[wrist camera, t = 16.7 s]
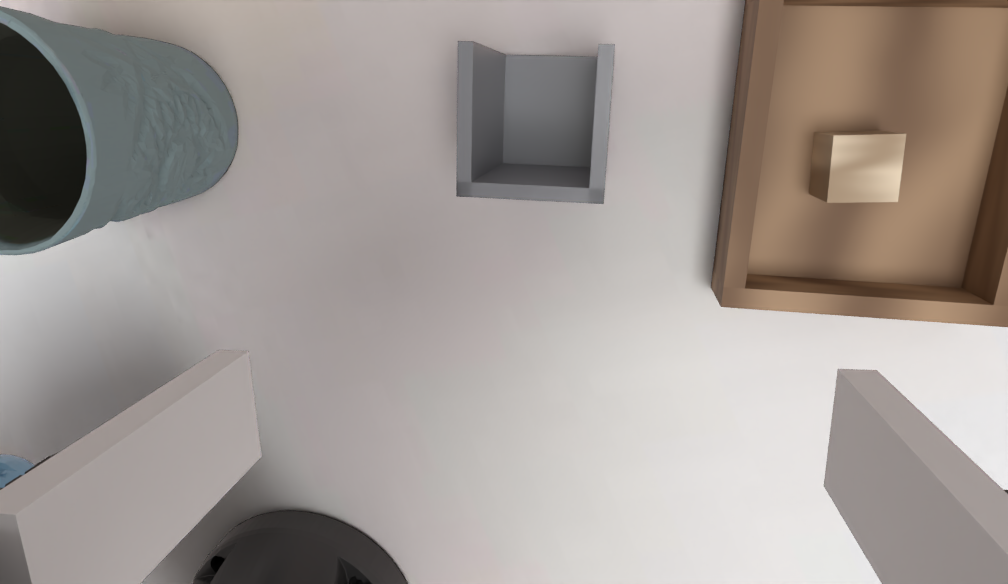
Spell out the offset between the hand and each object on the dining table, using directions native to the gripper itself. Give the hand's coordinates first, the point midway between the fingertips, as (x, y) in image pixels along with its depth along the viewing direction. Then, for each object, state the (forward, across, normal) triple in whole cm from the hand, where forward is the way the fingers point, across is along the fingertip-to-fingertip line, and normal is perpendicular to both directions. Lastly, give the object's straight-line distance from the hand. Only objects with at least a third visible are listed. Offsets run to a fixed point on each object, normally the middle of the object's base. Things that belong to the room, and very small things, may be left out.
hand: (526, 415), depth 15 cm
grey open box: (+22, +1, -6) cm, 23 cm away
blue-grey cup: (+23, +23, -6) cm, 33 cm away
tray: (+22, -14, -4) cm, 27 cm away
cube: (+20, -14, -2) cm, 24 cm away
